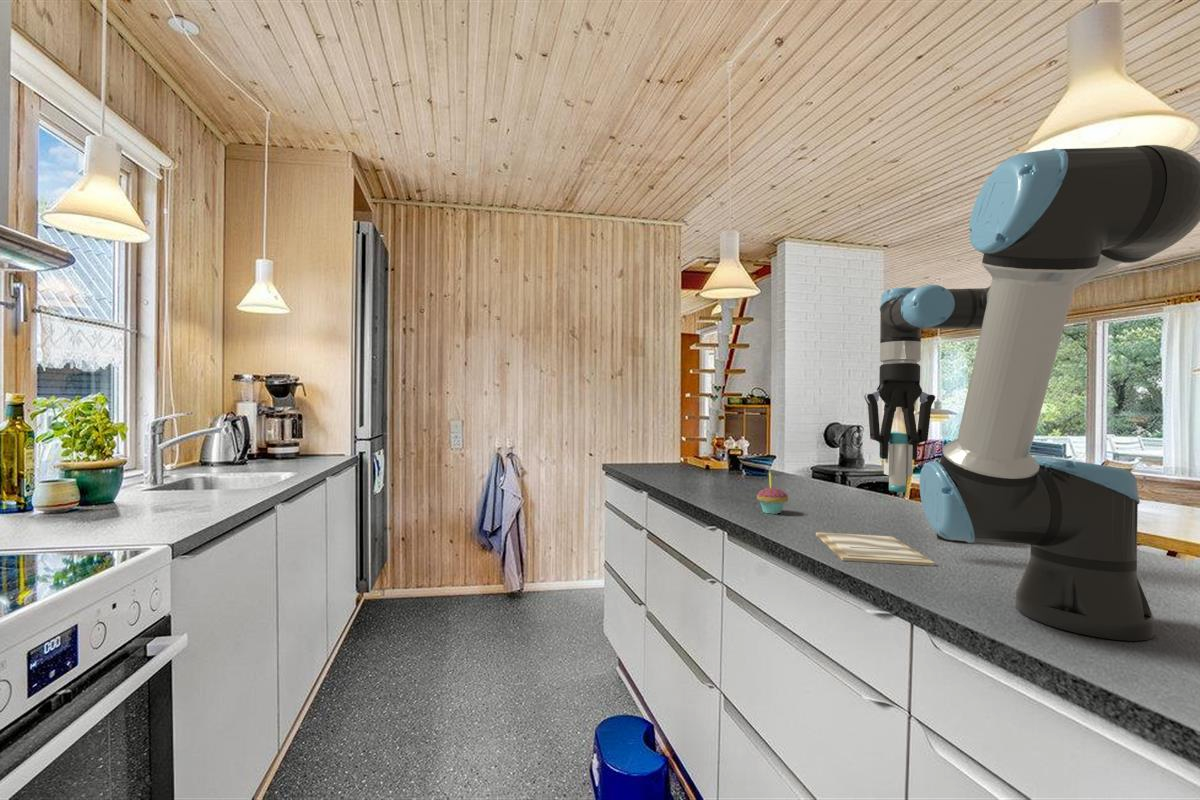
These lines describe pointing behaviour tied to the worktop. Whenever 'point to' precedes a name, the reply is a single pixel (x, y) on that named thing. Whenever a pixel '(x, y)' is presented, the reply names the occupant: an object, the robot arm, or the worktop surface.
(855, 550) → the wooden board
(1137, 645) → the worktop surface
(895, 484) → the marker
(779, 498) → the cupcake
